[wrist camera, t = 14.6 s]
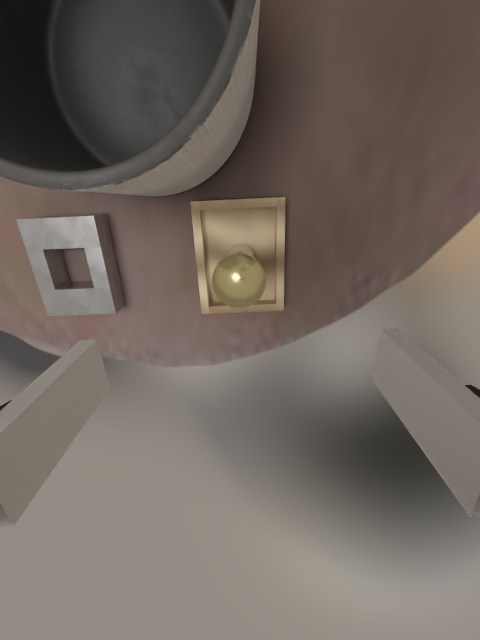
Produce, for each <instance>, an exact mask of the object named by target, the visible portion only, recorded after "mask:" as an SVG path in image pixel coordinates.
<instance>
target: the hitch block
mask: <svg viewBox="0 0 480 640" xmlns="http://www.w3.org/2000/svg"><path fill="white" fill-rule="evenodd" d="M16 220H17V223H18V226H19V229H20V232H21V235H22V238H23V241H24V245H25V248H26V251H27V254H28V257H29V260H30V263H31V266H32V269H33V272H34V275H35V278H36V281H37V284H38V287H39V290H40V293H41V296H42V299H43V303H44V306H45V309H46V312H47V315H48V316H62V315H88V314H113V313H117V312H118V311H119V310H120V309H121V308H122V307H123V306H125V305H126V303H125V298H124V293H123V289H122V284H121V279H120V274H119V270H118V265H117V260H116V255H115V250H114V246H113V241H112V236H111V231H110V227H109V222H108V217H107V214H100V215H79V216H57V217H36V218H25V219H16ZM66 248H84V249H85V253H86V257H87V261H88V265H89V269H90V273H91V277H92V281H90V282H70V279H69V276H68V272H67V269H66V265H65V261H64V258H63V254H62V251H61V249H66Z"/></svg>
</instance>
